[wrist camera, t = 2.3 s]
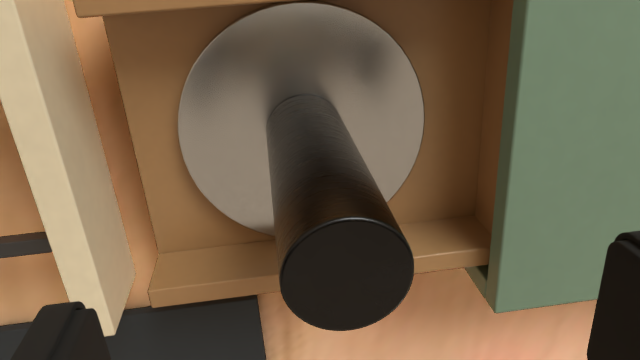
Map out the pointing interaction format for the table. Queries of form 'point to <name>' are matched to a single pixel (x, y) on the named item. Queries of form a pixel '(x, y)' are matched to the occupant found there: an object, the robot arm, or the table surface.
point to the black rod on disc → (310, 151)
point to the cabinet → (564, 152)
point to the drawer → (170, 169)
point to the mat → (176, 332)
